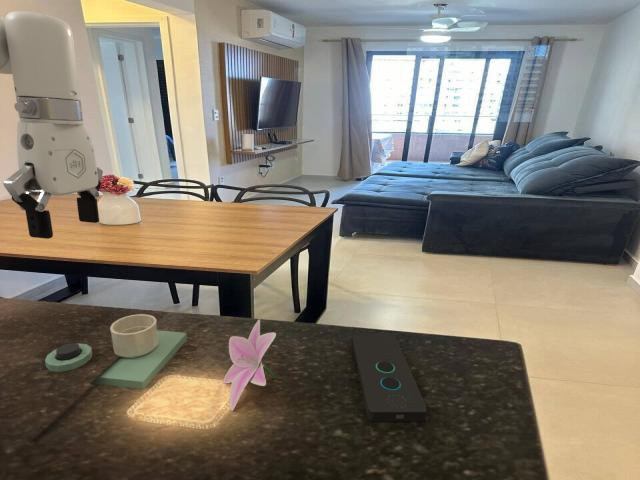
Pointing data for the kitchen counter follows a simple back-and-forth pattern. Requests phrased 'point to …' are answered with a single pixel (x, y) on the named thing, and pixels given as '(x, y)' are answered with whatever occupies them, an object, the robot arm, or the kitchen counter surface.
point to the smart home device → (386, 380)
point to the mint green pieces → (126, 363)
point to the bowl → (134, 335)
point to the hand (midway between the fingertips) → (67, 229)
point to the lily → (247, 361)
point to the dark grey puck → (68, 351)
